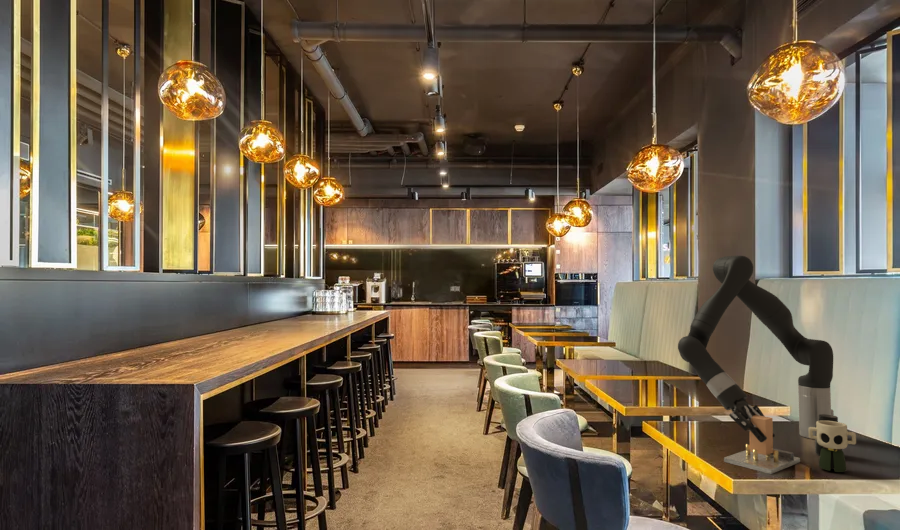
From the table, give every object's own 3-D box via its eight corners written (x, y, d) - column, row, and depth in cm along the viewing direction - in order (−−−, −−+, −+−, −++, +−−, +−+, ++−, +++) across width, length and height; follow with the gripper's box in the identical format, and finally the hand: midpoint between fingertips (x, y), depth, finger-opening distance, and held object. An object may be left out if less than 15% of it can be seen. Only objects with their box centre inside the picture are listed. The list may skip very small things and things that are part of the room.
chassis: (753, 451, 170) (753, 437, 170) (799, 462, 160) (799, 447, 160) (723, 461, 160) (723, 447, 160) (771, 474, 149) (770, 458, 149)
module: (757, 448, 163) (756, 414, 163) (773, 452, 159) (772, 417, 160) (749, 451, 160) (749, 416, 161) (765, 455, 157) (765, 419, 157)
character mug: (808, 470, 153) (807, 422, 153) (809, 463, 158) (808, 418, 159) (857, 477, 146) (855, 428, 147) (856, 470, 152) (855, 423, 153)
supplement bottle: (834, 460, 162) (833, 419, 162) (810, 454, 168) (809, 414, 168) (847, 457, 165) (846, 416, 165) (823, 451, 171) (822, 412, 171)
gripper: (722, 385, 162) (766, 435, 152) (746, 381, 171) (789, 428, 160) (705, 400, 166) (747, 450, 156) (729, 395, 175) (770, 442, 165)
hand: (768, 439), depth 158 cm, fingers closed on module, 4 cm apart
